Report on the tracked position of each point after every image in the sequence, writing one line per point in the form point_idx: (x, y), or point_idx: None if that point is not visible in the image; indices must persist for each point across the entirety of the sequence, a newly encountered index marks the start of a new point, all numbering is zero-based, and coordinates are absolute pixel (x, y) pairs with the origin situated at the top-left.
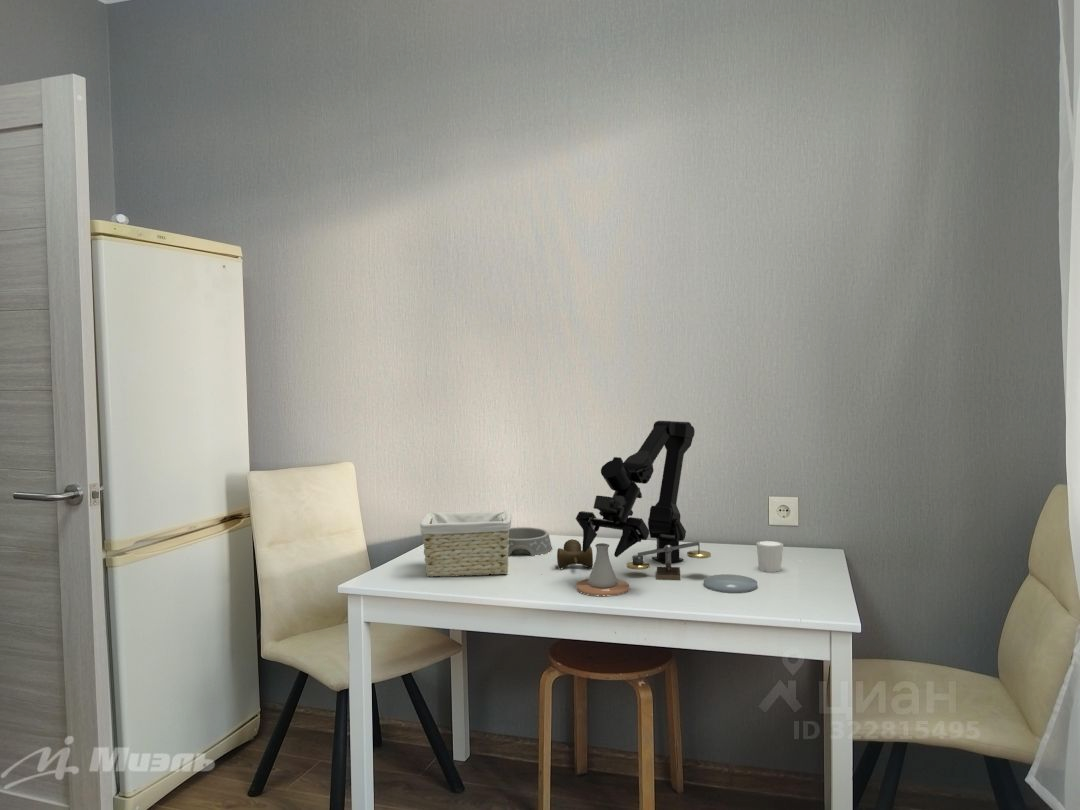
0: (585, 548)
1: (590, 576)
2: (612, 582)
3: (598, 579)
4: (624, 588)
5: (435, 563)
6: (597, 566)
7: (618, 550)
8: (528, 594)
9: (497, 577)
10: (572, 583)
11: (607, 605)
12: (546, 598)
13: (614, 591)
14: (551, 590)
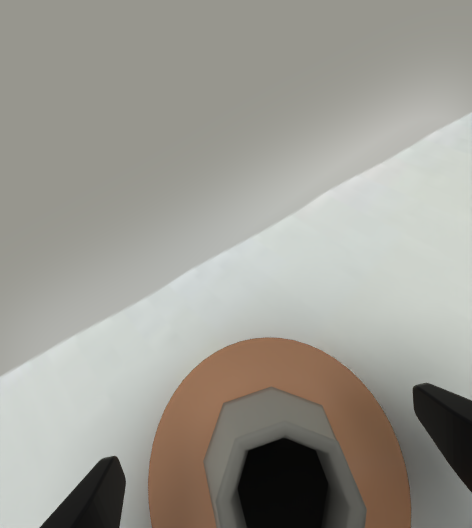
0: (431, 415)
1: (310, 408)
2: (206, 466)
3: (248, 403)
4: (154, 495)
5: None
6: (270, 415)
7: (66, 505)
8: (374, 219)
9: None
10: None
11: (125, 312)
12: (307, 232)
13: (164, 416)
14: (375, 290)
